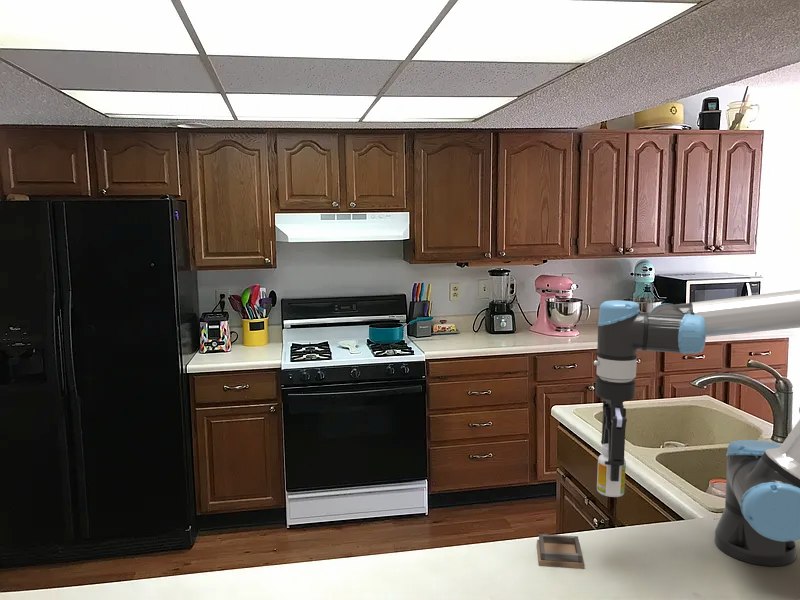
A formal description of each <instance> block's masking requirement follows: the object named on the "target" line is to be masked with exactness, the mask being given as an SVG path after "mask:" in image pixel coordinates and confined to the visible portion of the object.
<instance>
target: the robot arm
mask: <svg viewBox="0 0 800 600" xmlns="http://www.w3.org/2000/svg"><path fill="white" fill-rule="evenodd" d="M598 311H599V313H598V322H597V348H596V349H597V350H596V351H597V352H596V353H597V354H596V357H597V358H596V359H597V360H594V361H593V365H594V366H596V375H597V377H596V378H595V395H596V397H598V398H599V399H602V424H601V426H602V427H601V428H602V429H601V440H600V443H601V446H602V445H603V444H607V443H608V461H605V465H607V473H606V495H613V496H620V490H621V469H622V466H624V459H625V449H626V448H625V447H626V446H625V445H626V428H627V427H626V426H627V422H628V419H627V417H626V416H627V408H626V407H624V402H629V401H631V400H633V399H635V397H636V395H635V394H636V381H635V380H634V379H636V378H637V365H638V364H637V363H638V357H637V356H638V354H637V353H638V351H645V352H648V351H650V352H659V353H660V352H662V353H675V354H682V355H686V354H700V353H701V354H702V352H703V351H704V349H705V345H706V339H707V338H708V337H718V336H719V337H720V336H727V335H730V336H731V335H736V334H748V333H749V334H750V333H758V332H767V331H769V332H770V331H778V330H780V331H781V330H789V329H800V289H797V290H796V289H795V290H785V291H777V292H770V293H762V294H751V295H745V296H743V295H742V296H736V297H729V298H728V297H727V298H719V299H711V300H703V301H695V302H693V301H692V302H688V303H686V302H685V303H679V304H678V303H676V304H673V303H661V304H658V305H656V306H654V307H653V308H652V309H651V310H650V312H643V311H641V310H640V305H639V303H638V302H635V301H631V300H619V299H617V300H616V299H615V300H614V299H613V300H606V301H603V302H602V303H601V304H600V306H599V310H598ZM725 457H726V471H725V472H726V476H725V478H726V479H725V501H724V502H725V503H724V509H723V511H722V514H721V516H720V518H719V521H718V523H717V525H716V527H715V530H714V542H715V545H716V547H718V549H720V550H721V552H723V553H725V554H727V556H731V557H732V558H734V559H737V560H739V561H742V562H745V563H749V564H753V565H757V566H758V565H759V566H767V567H780V566H786V565H790V564H792V563H794V562H795V560H796V558H797V543H796V541H799V540H800V419H799V420H798V421H797V423H796V424H795V425H794V427H793V428H792V430H791V431H790V432H789V434H788V435H787V436H786V438H785V439H784V440H783V442H782V443H781V444H780V443H777V442H776V443H775V442H770V441H765V440H764V441H763V440H758V439H757V440H755V439H738V440H737V439H736V440H732V441H731V442H730V443H728V445H727V451H726V453H725ZM620 497H621V496H620Z"/></svg>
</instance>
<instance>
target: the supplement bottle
mask: <svg viewBox="0 0 800 600" xmlns="http://www.w3.org/2000/svg"><path fill="white" fill-rule="evenodd" d="M605 461H608V443H607V444H603V445H602V444H601V454H600V455H599V456H598V458H597V476H596V478H597V479H596V491H597V492H598V493H599V494H600V495H602V496H605V497H610V498H611V497H612V498H618V497H622V496H624V494H625V485H626V484H625V483H626V464H627V463H626V462H627V461H626V459H625V458H624V466H622V469H621V490H620V496H613V495H606V473H607V465H605Z"/></svg>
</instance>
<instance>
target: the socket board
mask: <svg viewBox="0 0 800 600" xmlns="http://www.w3.org/2000/svg"><path fill="white" fill-rule="evenodd" d="M536 547H537V548H536V549H537V555H538V566H539V567H553V568H571V569H585V560H584V556H583V551H582V548H581V543H580V539H579V536H577V535H576V536H575V535H561V534H546V533H545V534H544V533H543V534H541V533H538V539H536Z"/></svg>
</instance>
